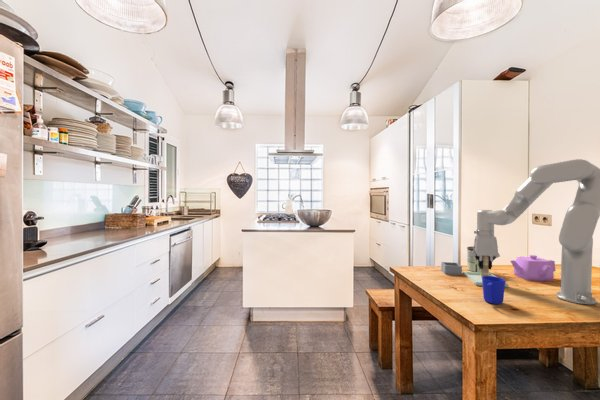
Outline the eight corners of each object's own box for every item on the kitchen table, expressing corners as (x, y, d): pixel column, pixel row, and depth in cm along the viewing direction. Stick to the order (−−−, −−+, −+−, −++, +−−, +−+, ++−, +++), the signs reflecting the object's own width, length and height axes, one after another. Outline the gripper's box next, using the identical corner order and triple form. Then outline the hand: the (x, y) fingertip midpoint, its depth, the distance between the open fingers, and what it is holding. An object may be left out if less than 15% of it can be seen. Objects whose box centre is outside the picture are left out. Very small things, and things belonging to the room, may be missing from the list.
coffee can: (474, 268, 175) (475, 245, 175) (491, 273, 166) (491, 248, 166) (462, 270, 172) (463, 247, 171) (479, 274, 162) (479, 250, 162)
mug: (476, 304, 119) (477, 280, 118) (484, 297, 127) (484, 274, 127) (500, 310, 113) (501, 284, 113) (506, 302, 121) (507, 278, 121)
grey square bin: (461, 276, 159) (461, 266, 159) (445, 275, 161) (445, 265, 161) (457, 272, 168) (457, 262, 168) (441, 271, 170) (441, 261, 170)
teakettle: (556, 278, 156) (556, 255, 155) (550, 284, 145) (550, 260, 144) (517, 271, 169) (518, 251, 168) (509, 277, 158) (509, 255, 157)
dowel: (489, 279, 148) (489, 252, 148) (482, 278, 149) (483, 251, 148) (487, 277, 151) (487, 250, 151) (480, 276, 152) (480, 250, 152)
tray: (508, 287, 140) (508, 284, 140) (476, 285, 143) (476, 282, 143) (491, 276, 159) (491, 273, 159) (463, 274, 162) (463, 271, 162)
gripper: (470, 234, 148) (470, 269, 148) (506, 235, 144) (506, 271, 144) (465, 232, 155) (465, 265, 155) (499, 233, 151) (499, 267, 152)
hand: (485, 268), depth 150 cm, fingers closed on dowel, 3 cm apart
